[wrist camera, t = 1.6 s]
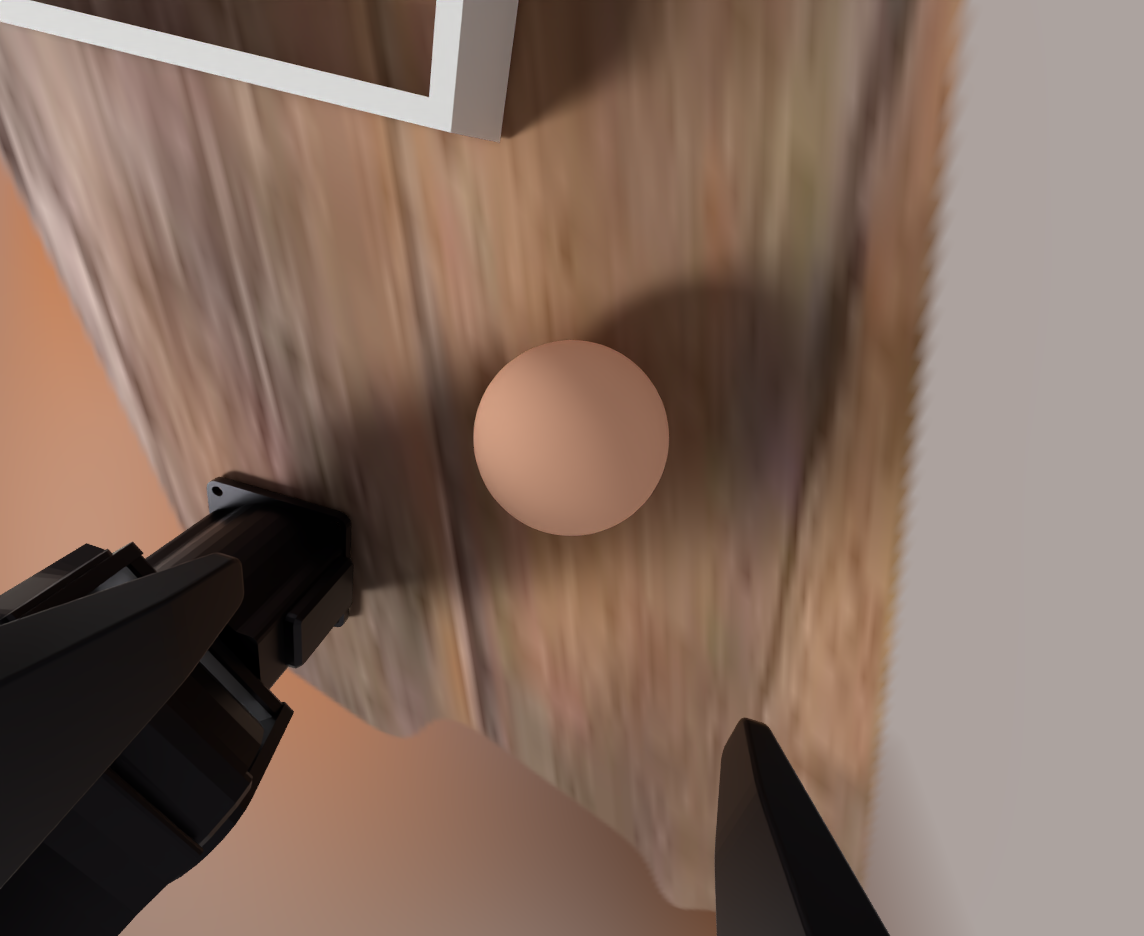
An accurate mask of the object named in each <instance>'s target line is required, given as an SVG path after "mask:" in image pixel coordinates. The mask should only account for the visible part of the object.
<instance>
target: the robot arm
mask: <svg viewBox="0 0 1144 936" xmlns="http://www.w3.org/2000/svg"><path fill="white" fill-rule="evenodd" d="M207 495H208V504H209V512H210V514H209V515H207V516H206V517H205V518H203V519H202V520H200V521H199V522H197V523H196V524H194V525H193V526H192V527H190V528H189V529H187V530H186V531H184V532H183V533H182V534H180V535H179V536H177V537H176V538H174V539H173V540H172V541H170V542H169V543H167V544H166V545H164V546H163V547H161V548H160V549H159V550H157V551H156V552H154V553H153V554H152V555H150V556H149V557H147V558H146V559H145V558H144V557H143V556H142V554H143V552H142V551H141V550H140V549H139V548H138V547H137V546H136V545H135V544H134V542H131V543H129V544H127V545H126V546H124V547H122V548H120V549H119V550H117V551H115V552H113V553H111V552H110V551H109V550H108V549H106V550H104V549H101V548H99V547H96V546H93V545H89V544H85V545H83V546H81V547H80V548H78V549H76V550H75V551H73V552H72V553H70V554H68V555H66V556H65V557H63V558H62V559H60V560H58V561H56V562H55V563H53V564H52V565H50V566H48V567H47V568H45V569H43V570H42V571H40V572H38V573H37V574H35V575H33V576H32V577H30V578H28V579H27V580H25V581H23V582H22V583H20V584H18V585H17V586H15V587H14V588H12V589H10V590H8V591H7V592H5V593H3V594H2V595H0V936H118V935H119V934H120V933H121V931H123V929H124V928H125V927H126V926H127V925H128V924H129V923H130V922H131V921H132V920H133V918H134V917H135V916H136V915H137V914H138V913H139V912H140V911H141V910H142V909H143V908H144V907H145V906H146V905H147V904H148V903H149V902H150V901H151V900H152V899H153V898H154V897H155V896H156V895H157V894H158V893H159V892H160V891H161V890H162V889H163V888H164V887H166V885H168V884H169V883H171V882H173V881H174V880H176V879H178V878H179V877H181V876H183V875H184V874H185V873H187V872H188V871H189V870H190V869H192V868H193V867H194V866H196V865H197V864H198V863H199V862H200V861H201V860H203V859H204V858H205V857H206V856H207V855H208V854H209V853H210V852H211V851H212V850H213V849H214V848H215V847H216V846H217V845H218V844H219V843H220V842H221V841H222V840H223V839H224V838H225V836H226V835H227V834H228V833H229V832H230V830H231V829H232V828H233V827H234V826H235V824H236V823H237V821H238V820H239V819H240V817H241V815H242V814H243V813H244V812H245V810H246V808H247V806H248V805H249V803H250V801H251V799H252V797H253V795H254V793H255V791H256V789H257V787H258V785H259V783H260V781H261V779H262V777H263V775H264V773H265V770H266V769H267V767H268V765H269V763H270V760H271V758H272V756H273V754H274V752H275V750H276V748H277V746H278V744H279V742H280V740H281V738H282V736H283V734H284V732H285V730H286V728H287V725H288V723H289V721H290V719H291V717H292V715H293V712H294V711H293V710H292V709H291V708H290V707H289V706H288V705H287V704H286V703H285V702H280V700H279V699H278V698H277V697H276V696H275V695H274V694H273V693H272V692H271V691H270V690H269V689H270V688H271V687H272V686H273V684H274V683H275V682H276V681H277V680H278V678H279V677H280V676H281V675H282V673H283V672H284V671H285V670H286V669H287V667H288V666H289V667H293V668H298V667H300V666H302V665H303V664H304V663H305V662H306V661H307V659H308V658H309V657H310V656H311V654H312V653H313V652H314V651H315V649H316V648H317V647H318V646H319V644H320V643H321V642H322V641H323V639H324V638H325V637H326V635H327V634H328V633H329V632H330V630H331V629H332V628H333V627H341V626H342V625H343V624H344V623H345V622H346V620H347V619H348V615H349V607H350V605H351V604H352V586H353V563H352V560H351V559H350V547H351V521H350V519H349V517H348V516H347V515H346V514H344V513H342V512H340V511H336V510H333V509H329V508H326V507H323V506H319V505H316V504H312V503H309V502H305V501H302V500H299V499H295V498H292V497H288V496H285V495H281V494H278V493H275V492H271V491H268V490H264V489H261V488H258V487H254V486H251V485H247V484H244V483H240V482H237V481H234V480H230V479H227V478H223V477H217V478H215V479H213V480H212V481H210V482H209V483H208V484H207ZM335 521H336V522H338V523H339V524H340V525H338V524H337V523H336V522H335ZM715 893H716V923H717V936H890V935H889V933H888V931H887V929H886V928H885V926H884V924H883V923H882V921H881V919H880V917H879V916H878V914H877V912H876V910H875V909H874V907H873V905H872V904H871V902H870V900H869V898H868V897H867V895H866V893H865V892H864V890H863V888H862V886H861V885H860V883H859V881H858V879H857V878H856V876H855V874H854V873H853V871H852V869H851V867H850V866H849V864H848V862H847V861H846V859H845V857H844V855H843V854H842V852H841V850H840V848H839V847H838V845H837V843H836V842H835V840H834V838H833V836H832V835H831V833H830V831H829V830H828V828H827V826H826V824H825V823H824V821H823V819H822V818H821V816H820V814H819V812H818V811H817V809H816V807H815V805H814V804H813V802H812V800H811V799H810V797H809V795H808V793H807V792H806V790H805V788H804V787H803V785H802V783H801V781H800V780H799V778H798V776H797V774H796V773H795V771H794V769H793V768H792V766H791V764H790V762H789V761H788V759H787V757H786V756H785V754H784V752H783V750H782V749H781V747H780V745H779V743H778V742H777V740H776V738H775V737H774V735H773V733H772V731H771V730H770V728H769V727H768V726H767V725H766V724H764V723H762V722H758V721H755V720H752V719H749V718H742V719H741V720H740V721H739V722H738V724H737V725H736V727H735V729H734V731H733V732H732V734H731V736H730V738H729V739H728V741H727V743H726V745H725V747H724V750H723V753H722V758H721V770H720V784H719V798H718V812H717V826H716V840H715Z"/></svg>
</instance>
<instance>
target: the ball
mask: <svg viewBox="0 0 1144 936" xmlns="http://www.w3.org/2000/svg"><path fill="white" fill-rule="evenodd" d="M668 448H669V427H668V421H667V415H666V411H665V408H664V405H663V402H662V400H661V398H660V396H659V394H658V392H657V390H656V388H655V386H654V385H653V384H652V382H651V381H650V379H649V378H648V376H647V375H646V374H645V373H644V372H643V371H642V370H641V369H640V368H639V367H638V366H637V365H636V364H635V363H634V362H633V361H631V360H630V359H629V358H627V357H626V356H624V355H623V354H621V353H619V352H617V351H615V350H613V349H611V348H609V347H607V346H604V345H601V344H598V343H593V342H588V341H582V340H562V341H555V342H550V343H546V344H542V345H539V346H536V347H534V348H531V349H529V350H527V351H525V352H523V353H522V354H520V355H519V356H517V357H516V358H515V359H513V360H512V361H510V362H509V363H508V364H507V365H505V366H504V367H503V368H502V369H501V370H500V371H499V372H498V374H497V375H496V376H495V378H494V379H493V380H492V381H491V383H490V384H489V386H488V387H487V389H486V391H485V393H484V395H483V397H482V399H481V402H480V405H479V407H478V410H477V414H476V418H475V423H474V453H475V457H476V462H477V465H478V468H479V471H480V474H481V477H482V479H483V481H484V483H485V485H486V487H487V489H488V490H489V492H490V493H491V495H492V496H493V497H494V498H495V500H496V501H497V502H498V503H499V504H500V505H501V506H502V507H503V508H504V509H505V510H506V511H507V512H508V513H509V514H510V515H512V516H513V517H514V518H516V519H517V520H519V521H520V522H522V523H524V524H525V525H527V526H530V527H532V528H534V529H537V530H539V531H542V532H546V533H550V534H555V535H563V536H580V535H588V534H593V533H597V532H600V531H603V530H606V529H609V528H611V527H613V526H615V525H617V524H619V523H621V522H623V521H624V520H625V519H627V518H628V517H630V516H631V515H632V514H633V513H635V512H636V511H637V510H638V509H639V508H640V507H641V506H642V505H643V504H644V503H645V502H646V501H647V499H648V498H649V497H650V496H651V494H652V492H653V491H654V489H655V487H656V486H657V484H658V482H659V480H660V478H661V476H662V473H663V471H664V468H665V464H666V460H667V456H668Z"/></svg>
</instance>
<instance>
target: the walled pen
mask: <svg viewBox="0 0 1144 936" xmlns="http://www.w3.org/2000/svg"><path fill="white" fill-rule="evenodd" d="M518 1H519V0H437V1H436V14H435V27H434V40H433V53H432V66H431V79H430V92H429V97H426V96H422V95H418V94H414V93H409V92H405V91H401V90H397V89H393V88H389V87H385V86H381V85H377V84H372V83H368V82H364V81H360V80H356V79H352V78H348V77H344V76H340V75H335V74H331V73H327V72H323V71H319V70H315V69H311V68H307V67H303V66H298V65H294V64H290V63H286V62H282V61H278V60H274V59H270V58H266V57H261V56H257V55H253V54H249V53H245V52H241V51H237V50H233V49H229V48H224V47H220V46H216V45H212V44H208V43H204V42H200V41H196V40H192V39H187V38H183V37H179V36H175V35H171V34H167V33H163V32H159V31H155V30H150V29H146V28H142V27H138V26H134V25H130V24H126V23H122V22H118V21H113V20H109V19H105V18H101V17H97V16H93V15H89V14H85V13H81V12H76V11H72V10H68V9H64V8H60V7H56V6H52V5H48V4H44V3H39V2H35V1H31V0H0V22H4V23H8V24H12V25H16V26H21V27H25V28H29V29H33V30H37V31H41V32H45V33H49V34H53V35H57V36H61V37H65V38H69V39H73V40H77V41H81V42H85V43H89V44H94V45H98V46H102V47H106V48H110V49H114V50H118V51H122V52H126V53H130V54H134V55H138V56H142V57H146V58H150V59H154V60H158V61H162V62H167V63H171V64H175V65H179V66H183V67H187V68H191V69H195V70H199V71H203V72H207V73H211V74H215V75H219V76H223V77H227V78H231V79H235V80H240V81H244V82H248V83H252V84H256V85H260V86H264V87H268V88H272V89H276V90H280V91H284V92H288V93H292V94H296V95H300V96H304V97H308V98H313V99H317V100H321V101H325V102H329V103H333V104H337V105H341V106H345V107H349V108H353V109H357V110H361V111H365V112H369V113H373V114H377V115H381V116H386V117H390V118H394V119H398V120H402V121H406V122H410V123H414V124H418V125H422V126H426V127H430V128H434V129H438V130H442V131H446V132H450V133H455V134H460V135H465V136H470V137H475V138H479V139H484V140H489V141H494V142H499V143H500V138H501V130H502V122H503V115H504V107H505V100H506V92H507V85H508V77H509V69H510V62H511V54H512V47H513V39H514V31H515V24H516V16H517V9H518Z"/></svg>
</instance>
